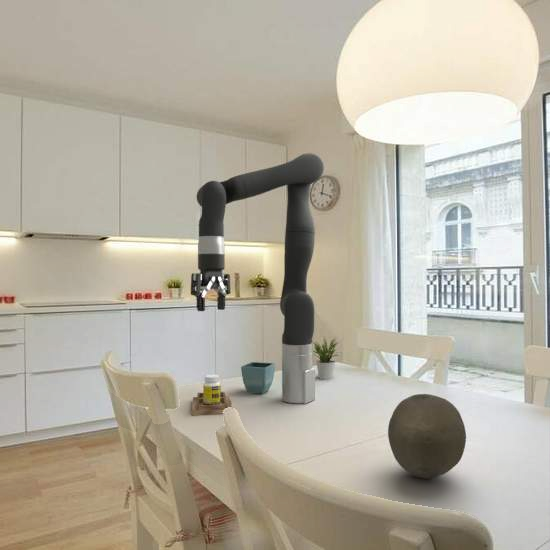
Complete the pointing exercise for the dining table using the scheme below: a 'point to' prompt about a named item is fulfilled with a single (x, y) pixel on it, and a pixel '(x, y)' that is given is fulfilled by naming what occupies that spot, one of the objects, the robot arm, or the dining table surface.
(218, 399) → the supplement bottle
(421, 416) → the brown ball
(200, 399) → the walnut tray
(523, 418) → the dining table surface
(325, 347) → the house plant
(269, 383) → the flower pot
